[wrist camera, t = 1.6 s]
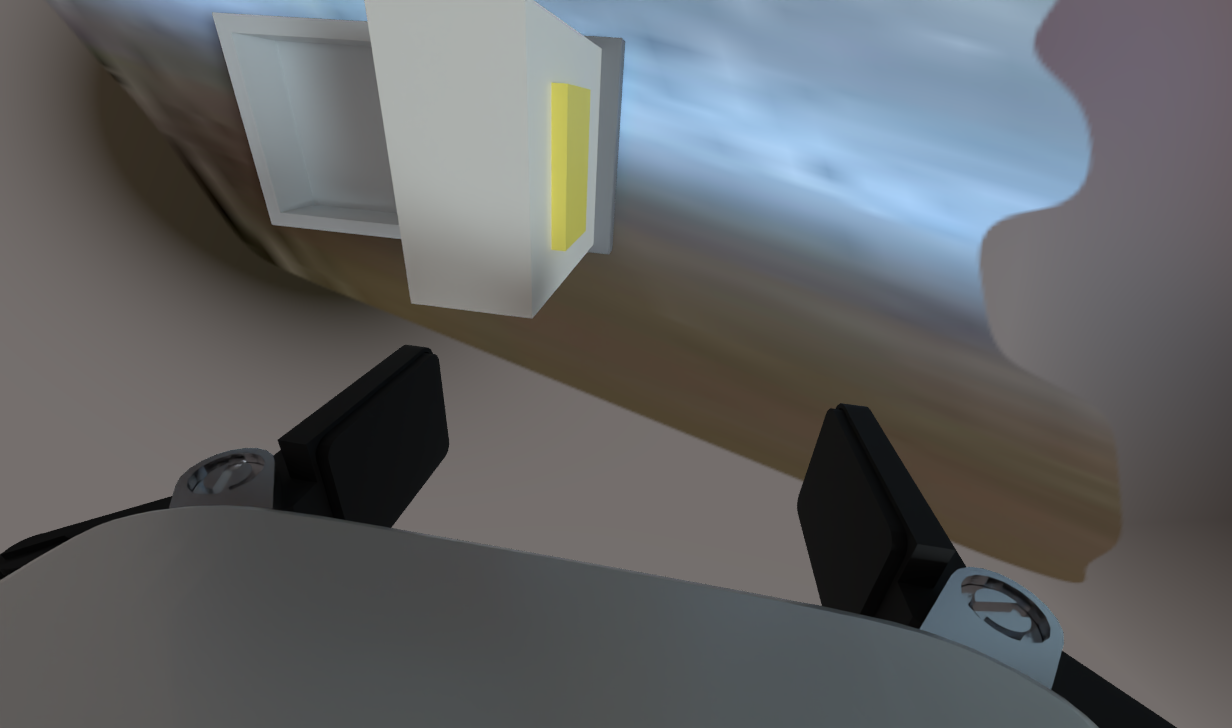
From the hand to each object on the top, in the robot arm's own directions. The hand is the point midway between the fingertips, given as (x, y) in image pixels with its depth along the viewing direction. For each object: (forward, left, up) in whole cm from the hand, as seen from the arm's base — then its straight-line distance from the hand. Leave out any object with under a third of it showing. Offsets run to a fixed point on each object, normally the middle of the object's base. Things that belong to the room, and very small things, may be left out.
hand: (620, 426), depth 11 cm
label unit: (-4, -7, -20) cm, 22 cm away
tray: (-4, -19, -20) cm, 28 cm away
